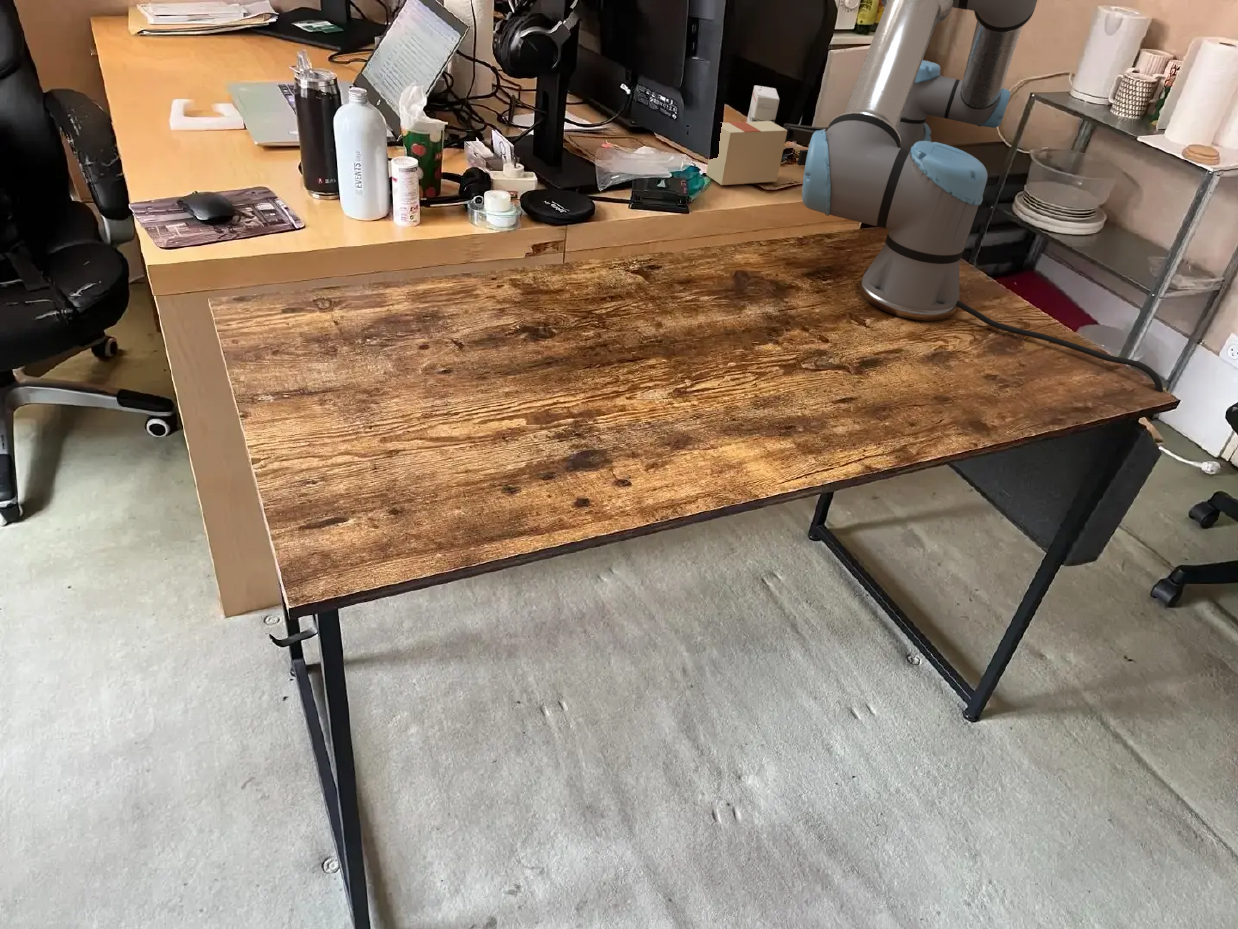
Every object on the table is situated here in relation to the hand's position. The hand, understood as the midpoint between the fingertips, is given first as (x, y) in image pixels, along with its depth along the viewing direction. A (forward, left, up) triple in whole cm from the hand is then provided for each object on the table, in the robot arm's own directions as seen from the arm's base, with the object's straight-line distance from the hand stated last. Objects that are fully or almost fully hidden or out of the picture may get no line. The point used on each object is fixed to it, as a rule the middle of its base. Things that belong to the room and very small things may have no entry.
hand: (779, 146), depth 179 cm
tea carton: (+5, +5, -1) cm, 8 cm away
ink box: (+7, -17, -6) cm, 19 cm away
